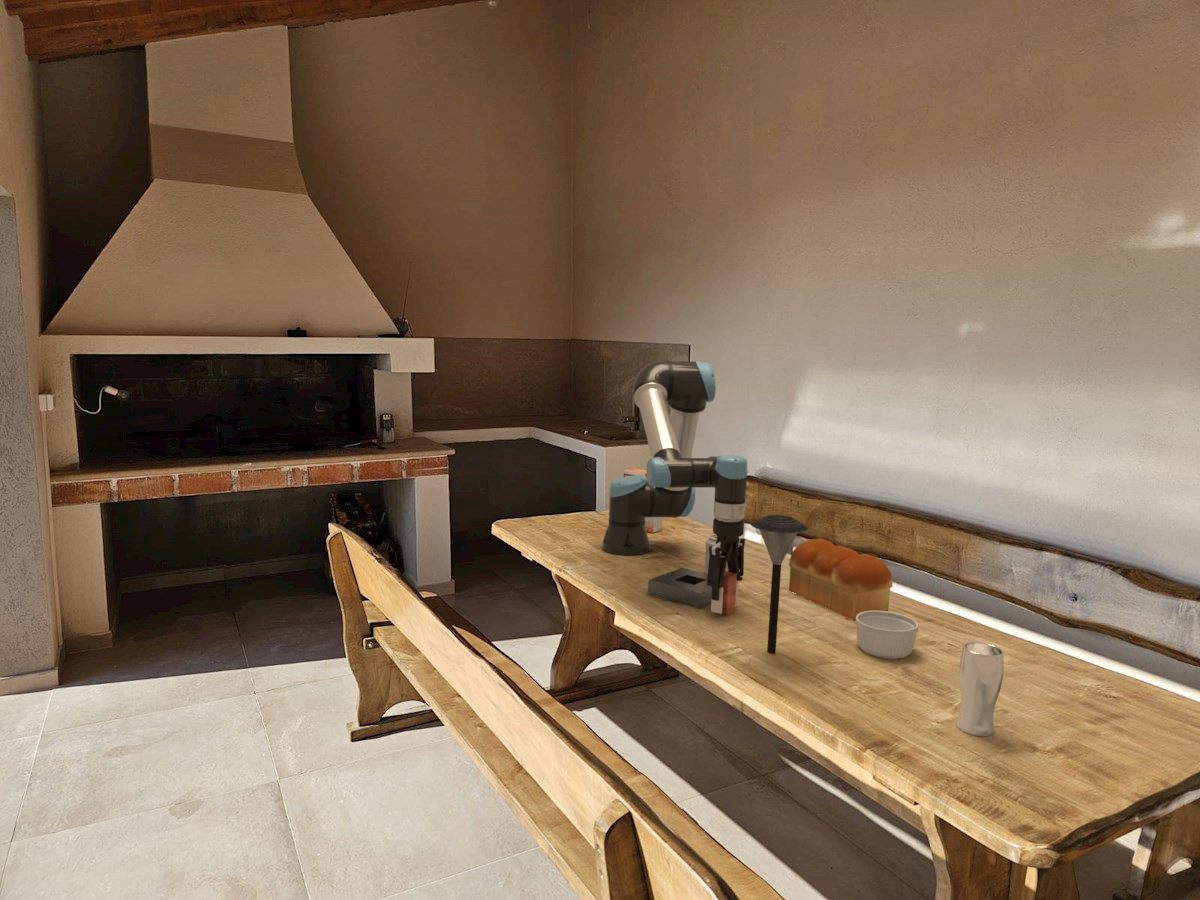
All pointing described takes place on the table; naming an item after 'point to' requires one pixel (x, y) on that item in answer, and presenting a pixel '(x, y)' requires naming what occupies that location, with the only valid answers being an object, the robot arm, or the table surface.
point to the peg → (729, 593)
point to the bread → (839, 578)
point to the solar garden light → (777, 559)
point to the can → (709, 542)
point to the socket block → (682, 587)
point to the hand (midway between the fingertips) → (723, 608)
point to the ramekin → (886, 634)
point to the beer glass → (979, 687)
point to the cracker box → (650, 522)
